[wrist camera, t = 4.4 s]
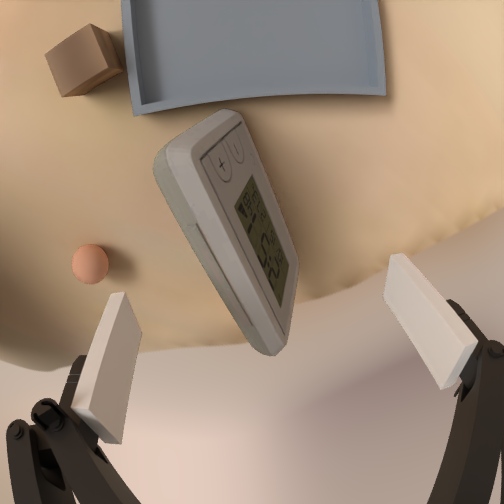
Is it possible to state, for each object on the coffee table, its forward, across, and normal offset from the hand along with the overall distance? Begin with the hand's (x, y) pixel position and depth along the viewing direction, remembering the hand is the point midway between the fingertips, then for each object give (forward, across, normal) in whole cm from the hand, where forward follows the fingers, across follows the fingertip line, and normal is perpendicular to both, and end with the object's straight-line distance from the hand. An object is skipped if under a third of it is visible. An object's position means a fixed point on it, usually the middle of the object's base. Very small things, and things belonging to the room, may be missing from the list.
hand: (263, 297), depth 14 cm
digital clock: (+13, 0, 0) cm, 13 cm away
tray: (+13, +2, +15) cm, 20 cm away
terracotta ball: (+13, -14, -3) cm, 20 cm away
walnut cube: (+13, -10, +14) cm, 22 cm away
